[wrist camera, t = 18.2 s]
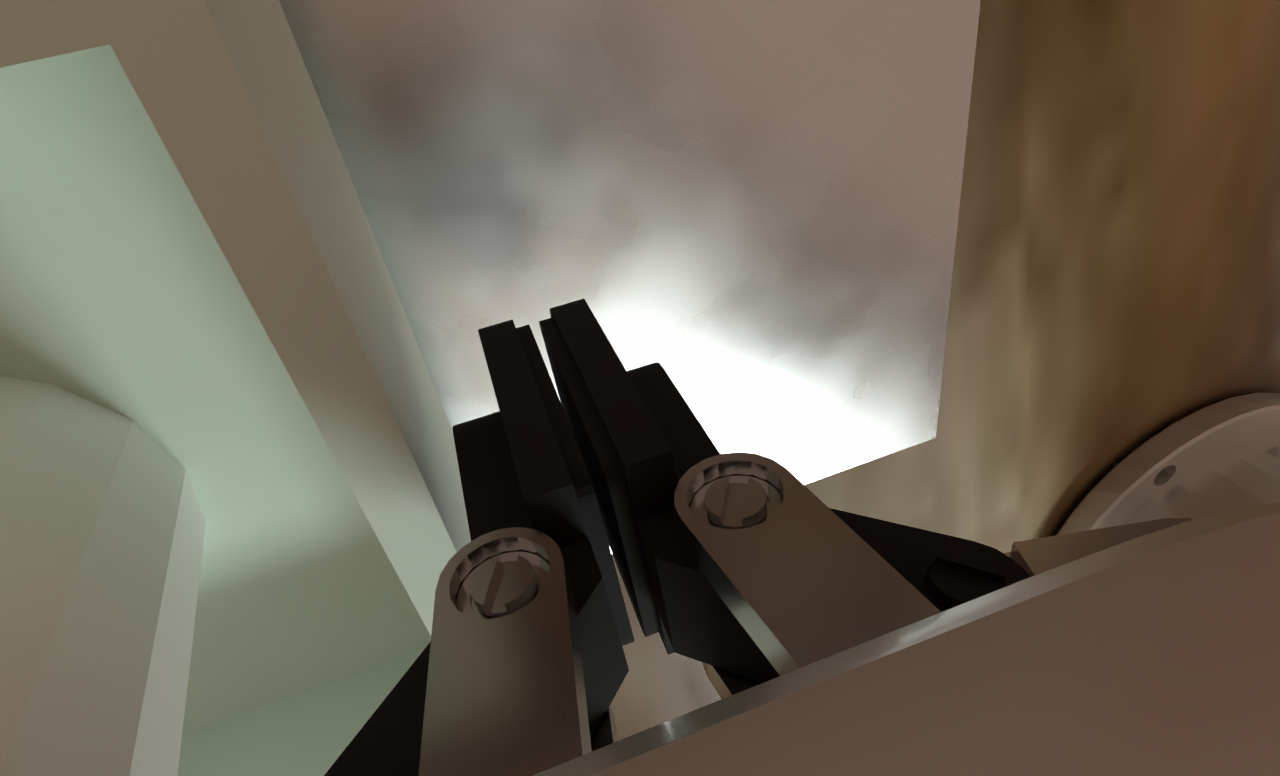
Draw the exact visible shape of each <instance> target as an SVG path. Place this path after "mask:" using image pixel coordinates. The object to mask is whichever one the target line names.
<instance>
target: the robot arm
mask: <svg viewBox="0 0 1280 776" xmlns="http://www.w3.org/2000/svg"><path fill="white" fill-rule="evenodd" d="M550 315H551V318H549V319H545V320H542V321H539V325H540V329H541V333H542V336H543V340H544V343H545V347H546V351H547V354H548V358H549V361H550V365H551V369H552V372H553V376H554V380H555V383H556V387H557V390H558V394H559V397H558V395H557V392H556V390H555V387H554V385H553V382H552V380H551V377H550V375H549V372H548V370H547V367H546V365H545V362H544V360H543V357H542V355H541V352H540V350H539V347H538V345H537V343H536V340H535V338H534V335H533V333H532V330H531V328H530V325H529V324H528V325H525V326H522V327H518V328H516V327H515V325H514V322H513V319H512V320H509V321H505V322H502V323H498V324H495V325H492V326H488V327H485V328H481V329H478V333H479V336H480V340H481V344H482V348H483V351H484V355H485V359H486V362H487V366H488V370H489V373H490V377H491V381H492V384H493V388H494V392H495V396H496V399H497V403H498V407H499V410H500V411H499V412H495V413H492V414H489V415H486V416H483V417H479V418H476V419H473V420H470V421H467V422H463V423H460V424H457V425H454V426H453V428H452V429H453V437H454V443H455V448H456V454H457V460H458V466H459V472H460V478H461V484H462V490H463V496H464V502H465V508H466V514H467V520H468V526H469V532H470V538H471V542H469V543H468V544H466V545H464V546H463V547H462V548H461V549H460V550H459V551H458V552H457V553H456V554H455V555H454V556H453V557H452V558H450V560H449V561H448V563H447V564H446V566H445V567H444V569H443V571H442V572H441V574H440V576H439V580H438V583H437V587H436V591H435V601H434V612H433V623H432V634H431V641H430V643H429V644H428V645H427V646H426V648H425V649H424V650H423V652H422V653H421V654H420V655H419V657H418V658H417V659H416V660H415V662H414V663H413V664H412V665H411V667H410V668H409V669H408V670H407V672H406V673H405V674H404V675H403V677H402V678H401V679H400V680H399V682H398V683H397V684H396V685H395V687H394V688H393V689H392V691H391V692H390V693H389V694H388V696H387V697H386V698H385V699H384V701H383V702H382V703H381V704H380V706H379V707H378V708H377V709H376V711H375V712H374V713H373V714H372V716H371V717H370V718H369V719H368V721H367V722H366V723H365V725H364V726H363V727H362V728H361V730H360V731H359V732H358V733H357V735H356V736H355V737H354V738H353V740H352V741H351V742H350V743H349V745H348V746H347V747H346V748H345V750H344V751H343V752H342V753H341V755H340V756H339V757H338V758H337V760H336V761H335V762H334V764H333V765H332V766H331V767H330V769H329V770H328V771H327V772H326V774H325V775H324V776H1280V394H1278V393H1252V394H1247V395H1242V396H1237V397H1232V398H1228V399H1225V400H1223V401H1220V402H1217V403H1215V404H1212V405H1209V406H1207V407H1204V408H1201V409H1199V410H1197V411H1196V412H1194V413H1192V414H1190V415H1188V416H1186V417H1184V418H1182V419H1180V420H1179V421H1177V422H1175V423H1173V424H1171V425H1170V426H1168V427H1167V428H1165V429H1164V430H1162V431H1161V432H1159V433H1158V434H1156V435H1155V436H1153V437H1152V438H1150V439H1149V440H1147V441H1146V442H1144V443H1143V444H1142V445H1140V446H1139V447H1138V448H1137V449H1135V450H1134V451H1133V452H1132V453H1131V454H1129V455H1128V456H1127V457H1126V458H1124V459H1123V460H1122V461H1121V462H1119V463H1118V464H1117V465H1116V466H1115V467H1114V468H1113V469H1112V470H1111V471H1110V472H1109V473H1108V474H1107V475H1106V476H1105V477H1103V478H1102V479H1101V480H1100V481H1099V482H1098V483H1097V484H1096V485H1095V486H1094V487H1093V488H1092V489H1091V490H1090V491H1089V493H1088V494H1087V495H1086V496H1085V497H1084V499H1083V500H1082V501H1081V502H1080V503H1079V505H1078V506H1077V507H1076V508H1075V509H1074V510H1073V512H1072V513H1071V514H1070V515H1069V517H1068V518H1067V520H1066V521H1065V523H1064V524H1063V526H1062V527H1061V529H1060V530H1059V532H1058V533H1057V535H1056V536H1050V537H1043V538H1037V539H1031V540H1024V541H1018V542H1013V545H1012V550H1011V552H1008V553H1002V552H1000V551H998V550H997V549H995V548H992V547H989V546H986V545H983V544H980V543H977V542H974V541H970V540H965V539H961V538H957V537H952V536H948V535H944V534H939V533H935V532H931V531H926V530H922V529H918V528H913V527H909V526H905V525H900V524H896V523H891V522H887V521H883V520H878V519H874V518H870V517H865V516H861V515H857V514H852V513H848V512H844V511H839V510H835V509H831V508H828V507H827V506H826V505H825V504H824V503H823V502H822V501H821V500H820V499H819V498H818V497H816V496H815V495H814V494H813V493H812V492H811V491H810V490H809V489H808V488H807V487H806V486H805V485H803V484H802V483H801V482H800V481H799V480H798V479H797V478H796V477H795V476H794V475H793V474H792V473H791V472H789V471H788V470H787V469H786V468H785V467H783V466H782V465H780V464H779V463H777V462H776V461H774V460H773V459H770V458H767V457H764V456H761V455H758V454H753V453H743V452H734V453H725V454H720V452H719V451H718V449H717V448H716V446H715V445H714V443H713V442H712V440H711V439H710V437H709V436H708V434H707V433H706V431H705V430H704V428H703V427H702V425H701V424H700V422H699V421H698V419H697V418H696V416H695V415H694V413H693V412H692V410H691V409H690V407H689V406H688V404H687V403H686V401H685V400H684V398H683V397H682V395H681V394H680V392H679V391H678V389H677V388H676V386H675V385H674V383H673V382H672V380H671V379H670V377H669V376H668V374H667V373H666V371H665V370H664V368H663V367H662V366H661V365H660V363H658V362H655V363H652V364H649V365H645V366H642V367H639V368H636V369H633V370H629V371H626V370H625V368H624V366H623V364H622V363H621V361H620V359H619V358H618V356H617V354H616V352H615V351H614V349H613V347H612V345H611V344H610V342H609V340H608V339H607V337H606V335H605V333H604V332H603V330H602V328H601V326H600V325H599V323H598V321H597V319H596V318H595V316H594V314H593V313H592V311H591V309H590V307H589V306H588V304H587V302H586V301H585V299H580V300H577V301H573V302H570V303H567V304H563V305H560V306H556V307H553V308H550ZM559 398H560V400H559ZM560 401H561V402H560ZM609 546H610V547H609ZM610 549H611V551H612V554H613V556H614V559H615V561H616V564H617V567H618V569H619V572H620V574H621V577H622V579H623V582H624V585H625V587H626V590H627V592H628V595H629V597H630V600H631V603H632V605H633V608H634V610H635V613H636V615H637V618H638V621H639V623H640V626H641V628H642V631H643V633H644V635H645V637H646V636H649V635H652V634H654V633H657V632H659V634H660V636H661V639H662V641H663V643H664V646H665V648H666V651H667V653H668V654H671V653H674V652H675V653H678V654H681V655H684V656H687V657H689V658H692V659H695V660H698V661H701V662H703V666H704V669H705V671H706V674H707V676H708V678H709V680H710V682H711V683H712V685H713V686H714V688H715V690H716V691H717V693H718V694H719V696H720V697H721V699H722V700H719V701H717V702H714V703H712V704H709V705H707V706H704V707H702V708H699V709H697V710H694V711H692V712H689V713H687V714H684V715H682V716H679V717H677V718H674V719H672V720H670V721H667V722H665V723H662V724H660V725H657V726H655V727H652V728H650V729H647V730H645V731H642V732H640V733H637V734H635V735H632V736H630V737H627V738H625V739H622V740H620V741H618V737H617V730H616V723H615V717H614V714H613V711H612V708H611V705H610V704H611V702H612V700H613V698H614V696H615V695H616V693H617V691H618V689H619V687H620V686H621V684H622V682H623V680H624V678H625V676H626V675H627V673H628V671H629V669H628V665H627V662H626V658H625V655H624V651H623V648H622V646H623V645H626V644H628V643H631V642H634V637H633V633H632V630H631V626H630V622H629V618H628V615H627V611H626V607H625V603H624V600H623V596H622V592H621V588H620V584H619V581H618V577H617V573H616V569H615V566H614V562H613V558H612V554H611V551H610Z"/></svg>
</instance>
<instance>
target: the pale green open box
mask: <svg viewBox="0 0 1280 776" xmlns="http://www.w3.org/2000/svg"><path fill="white" fill-rule="evenodd" d="M0 376H3V377H9V378H16V379H22V380H28V381H35V382H41V383H47V384H53V385H55V386H57V387H59V388H62V389H64V390H66V391H68V392H71V393H73V394H75V395H77V396H80V397H82V398H84V399H86V400H88V401H91V402H93V403H95V404H97V405H100V406H102V407H104V408H106V409H109V410H111V411H113V412H115V413H117V414H120V415H122V416H124V417H126V418H129V419H131V420H133V421H135V422H136V423H137V424H138V425H139V426H140V427H141V428H142V429H143V430H144V431H145V432H146V433H148V434H149V435H150V436H151V437H152V438H153V439H154V440H155V441H156V442H157V443H158V444H159V445H161V446H162V447H163V448H164V449H165V450H166V451H167V452H168V453H169V454H170V455H171V456H172V457H174V458H175V459H176V460H177V461H178V462H179V463H180V464H181V465H182V466H183V467H184V468H185V469H186V470H187V473H188V475H189V478H190V480H191V483H192V486H193V488H194V491H195V493H196V496H197V498H198V501H199V503H200V506H201V508H202V511H203V513H204V516H205V519H206V526H205V535H204V544H203V553H202V562H201V571H200V579H199V588H198V597H197V606H196V615H195V624H194V633H193V642H192V651H191V659H190V668H189V677H188V686H187V695H186V704H185V713H184V722H183V730H182V739H181V748H180V757H179V766H178V775H177V776H324V775H325V774H326V772H327V771H328V770H329V769H330V767H331V766H332V765H333V764H334V762H335V761H336V760H337V758H338V757H339V756H340V755H341V753H342V752H343V751H344V750H345V748H346V747H347V746H348V745H349V743H350V742H351V741H352V740H353V738H354V737H355V736H356V735H357V733H358V732H359V731H360V730H361V728H362V727H363V726H364V725H365V723H366V722H367V721H368V719H369V718H370V717H371V716H372V714H373V713H374V712H375V711H376V709H377V708H378V707H379V706H380V704H381V703H382V702H383V701H384V699H385V698H386V697H387V696H388V694H389V693H390V692H391V691H392V689H393V688H394V687H395V685H396V684H397V683H398V682H399V680H400V679H401V678H402V677H403V675H404V674H405V673H406V672H407V670H408V669H409V668H410V667H411V665H412V664H413V663H414V662H415V660H416V659H417V658H418V657H419V655H420V654H421V653H422V652H423V650H424V649H425V648H426V646H427V645H428V644H429V643H430V641H431V634H432V623H433V612H434V601H435V591H436V587H437V583H438V580H439V576H440V574H441V572H442V571H443V569H444V567H445V566H446V564H447V563H448V561H449V560H450V558H452V557H453V556H454V555H455V554H456V553H457V552H458V551H459V550H460V549H461V548H462V547H463V546H464V545H466V544H468V543H469V542H471V538H470V532H469V526H468V520H467V514H466V508H465V502H464V496H463V490H462V484H461V478H460V472H459V466H458V460H457V454H456V448H455V443H454V437H453V431H452V428H451V426H450V423H449V421H448V418H447V416H446V413H445V411H444V408H443V406H442V403H441V401H440V398H439V396H438V394H437V391H436V389H435V386H434V384H433V381H432V379H431V376H430V374H429V371H428V369H427V366H426V364H425V361H424V359H423V356H422V354H421V351H420V349H419V346H418V344H417V341H416V339H415V337H414V334H413V332H412V329H411V327H410V324H409V322H408V319H407V317H406V314H405V312H404V309H403V307H402V304H401V302H400V299H399V297H398V294H397V292H396V289H395V287H394V284H393V282H392V280H391V277H390V275H389V272H388V270H387V267H386V265H385V262H384V260H383V257H382V255H381V252H380V250H379V247H378V245H377V242H376V240H375V237H374V235H373V232H372V230H371V227H370V225H369V222H368V220H367V218H366V215H365V213H364V210H363V208H362V205H361V203H360V200H359V198H358V195H357V193H356V190H355V188H354V185H353V183H352V180H351V178H350V175H349V173H348V170H347V168H346V165H345V163H344V161H343V158H342V156H341V153H340V151H339V148H338V146H337V143H336V141H335V138H334V136H333V133H332V131H331V128H330V126H329V123H328V121H327V118H326V116H325V113H324V111H323V108H322V106H321V103H320V101H319V99H318V96H317V94H316V91H315V89H314V86H313V84H312V81H311V79H310V76H309V74H308V71H307V69H306V66H305V64H304V61H303V59H302V56H301V54H300V51H299V49H298V46H297V44H296V42H295V39H294V37H293V34H292V32H291V29H290V27H289V24H288V22H287V19H286V17H285V14H284V12H283V9H282V7H281V4H280V2H279V0H0Z"/></svg>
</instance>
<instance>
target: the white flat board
mask: <svg viewBox="0 0 1280 776" xmlns="http://www.w3.org/2000/svg"><path fill="white" fill-rule="evenodd" d="M279 2H280V4H281V7H282V9H283V12H284V14H285V17H286V19H287V22H288V24H289V27H290V29H291V32H292V34H293V37H294V39H295V42H296V44H297V46H298V49H299V51H300V54H301V56H302V59H303V61H304V64H305V66H306V69H307V71H308V74H309V76H310V79H311V81H312V84H313V86H314V89H315V91H316V94H317V96H318V99H319V101H320V103H321V106H322V108H323V111H324V113H325V116H326V118H327V121H328V123H329V126H330V128H331V131H332V133H333V136H334V138H335V141H336V143H337V146H338V148H339V151H340V153H341V156H342V158H343V161H344V163H345V165H346V168H347V170H348V173H349V175H350V178H351V180H352V183H353V185H354V188H355V190H356V193H357V195H358V198H359V200H360V203H361V205H362V208H363V210H364V213H365V215H366V218H367V220H368V222H369V225H370V227H371V230H372V232H373V235H374V237H375V240H376V242H377V245H378V247H379V250H380V252H381V255H382V257H383V260H384V262H385V265H386V267H387V270H388V272H389V275H390V277H391V280H392V282H393V284H394V287H395V289H396V292H397V294H398V297H399V299H400V302H401V304H402V307H403V309H404V312H405V314H406V317H407V319H408V322H409V324H410V327H411V329H412V332H413V334H414V337H415V339H416V341H417V344H418V346H419V349H420V351H421V354H422V356H423V359H424V361H425V364H426V366H427V369H428V371H429V374H430V376H431V379H432V381H433V384H434V386H435V389H436V391H437V394H438V396H439V398H440V401H441V403H442V406H443V408H444V411H445V413H446V416H447V418H448V421H449V423H450V426H451V428H453V426H454V425H457V424H460V423H463V422H467V421H470V420H473V419H476V418H479V417H483V416H486V415H489V414H492V413H495V412H499V411H500V410H499V407H498V403H497V399H496V396H495V392H494V388H493V384H492V381H491V377H490V373H489V370H488V366H487V362H486V359H485V355H484V351H483V348H482V344H481V340H480V336H479V333H478V329H481V328H485V327H488V326H492V325H495V324H498V323H502V322H505V321H509V320H512V319H513V322H514V325H515V327H516V328H518V327H522V326H525V325H528V324H529V325H530V328H531V330H532V333H533V335H534V338H535V340H536V343H537V345H538V347H539V350H540V352H541V355H542V357H543V360H544V362H545V365H546V367H547V370H548V372H549V375H550V377H551V380H552V382H553V385H554V387H555V390H556V392H557V395H558V397H559V394H558V390H557V387H556V383H555V380H554V376H553V372H552V369H551V365H550V361H549V358H548V354H547V351H546V347H545V343H544V340H543V336H542V333H541V329H540V325H539V321H542V320H545V319H549V318H551V315H550V308H553V307H556V306H560V305H563V304H567V303H570V302H573V301H577V300H580V299H585V301H586V302H587V304H588V306H589V307H590V309H591V311H592V313H593V314H594V316H595V318H596V319H597V321H598V323H599V325H600V326H601V328H602V330H603V332H604V333H605V335H606V337H607V339H608V340H609V342H610V344H611V345H612V347H613V349H614V351H615V352H616V354H617V356H618V358H619V359H620V361H621V363H622V364H623V366H624V368H625V370H626V371H629V370H633V369H636V368H639V367H642V366H645V365H649V364H652V363H655V362H658V363H660V365H661V366H662V367H663V368H664V370H665V371H666V373H667V374H668V376H669V377H670V379H671V380H672V382H673V383H674V385H675V386H676V388H677V389H678V391H679V392H680V394H681V395H682V397H683V398H684V400H685V401H686V403H687V404H688V406H689V407H690V409H691V410H692V412H693V413H694V415H695V416H696V418H697V419H698V421H699V422H700V424H701V425H702V427H703V428H704V430H705V431H706V433H707V434H708V436H709V437H710V439H711V440H712V442H713V443H714V445H715V446H716V448H717V449H718V451H719V452H720V454H725V453H734V452H743V453H753V454H758V455H761V456H764V457H767V458H770V459H773V460H774V461H776V462H777V463H779V464H780V465H782V466H783V467H785V468H786V469H787V470H788V471H789V472H791V473H792V474H793V475H794V476H795V477H796V478H797V479H798V480H799V481H800V482H801V483H802V484H803V485H805V484H808V483H811V482H814V481H816V480H819V479H822V478H825V477H827V476H830V475H833V474H836V473H839V472H841V471H844V470H847V469H850V468H852V467H855V466H858V465H861V464H864V463H866V462H869V461H872V460H875V459H878V458H880V457H883V456H886V455H889V454H891V453H894V452H897V451H900V450H903V449H905V448H908V447H911V446H914V445H916V444H919V443H922V442H925V441H928V440H930V439H933V438H936V431H937V421H938V411H939V401H940V392H941V382H942V372H943V363H944V353H945V343H946V333H947V324H948V314H949V304H950V295H951V285H952V275H953V265H954V256H955V246H956V236H957V226H958V217H959V207H960V197H961V188H962V178H963V168H964V158H965V149H966V139H967V129H968V119H969V110H970V100H971V90H972V81H973V71H974V61H975V51H976V42H977V32H978V22H979V13H980V3H981V0H279ZM559 400H560V398H559ZM560 402H561V401H560ZM452 431H453V429H452ZM609 547H610V546H609ZM610 551H611V549H610ZM611 554H612V551H611Z"/></svg>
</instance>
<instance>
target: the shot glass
mask: <svg viewBox="0 0 1280 776" xmlns="http://www.w3.org/2000/svg"><path fill="white" fill-rule="evenodd" d="M205 526H206V519H205V516H204V513H203V511H202V508H201V506H200V503H199V501H198V498H197V496H196V493H195V491H194V488H193V486H192V483H191V480H190V478H189V475H188V473H187V470H186V469H185V468H184V467H183V466H182V465H181V464H180V463H179V462H178V461H177V460H176V459H175V458H174V457H172V456H171V455H170V454H169V453H168V452H167V451H166V450H165V449H164V448H163V447H162V446H161V445H159V444H158V443H157V442H156V441H155V440H154V439H153V438H152V437H151V436H150V435H149V434H148V433H146V432H145V431H144V430H143V429H142V428H141V427H140V426H139V425H138V424H137V423H136V422H135V421H133V420H131V419H129V418H126V417H124V416H122V415H120V414H117V413H115V412H113V411H111V410H109V409H106V408H104V407H102V406H100V405H97V404H95V403H93V402H91V401H88V400H86V399H84V398H82V397H80V396H77V395H75V394H73V393H71V392H68V391H66V390H64V389H62V388H59V387H57V386H55V385H53V384H47V383H41V382H35V381H28V380H22V379H16V378H9V377H3V376H0V776H177V775H178V766H179V757H180V748H181V739H182V730H183V722H184V713H185V704H186V695H187V686H188V677H189V668H190V659H191V651H192V642H193V633H194V624H195V615H196V606H197V597H198V588H199V579H200V571H201V562H202V553H203V544H204V535H205Z"/></svg>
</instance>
